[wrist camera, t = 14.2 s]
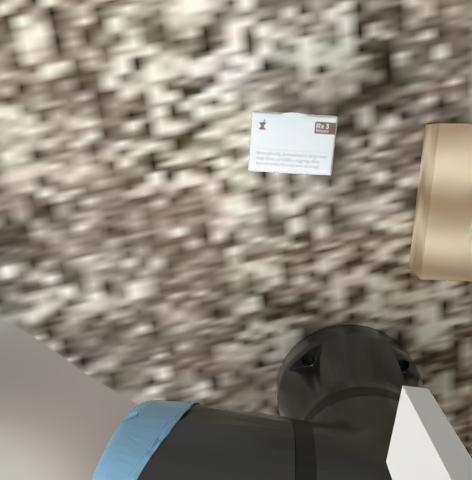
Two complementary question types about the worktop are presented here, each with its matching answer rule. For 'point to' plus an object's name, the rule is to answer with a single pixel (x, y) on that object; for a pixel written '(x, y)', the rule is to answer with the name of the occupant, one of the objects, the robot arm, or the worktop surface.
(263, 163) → the skincare box
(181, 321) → the worktop surface
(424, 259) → the birch block
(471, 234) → the sage block
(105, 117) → the worktop surface
